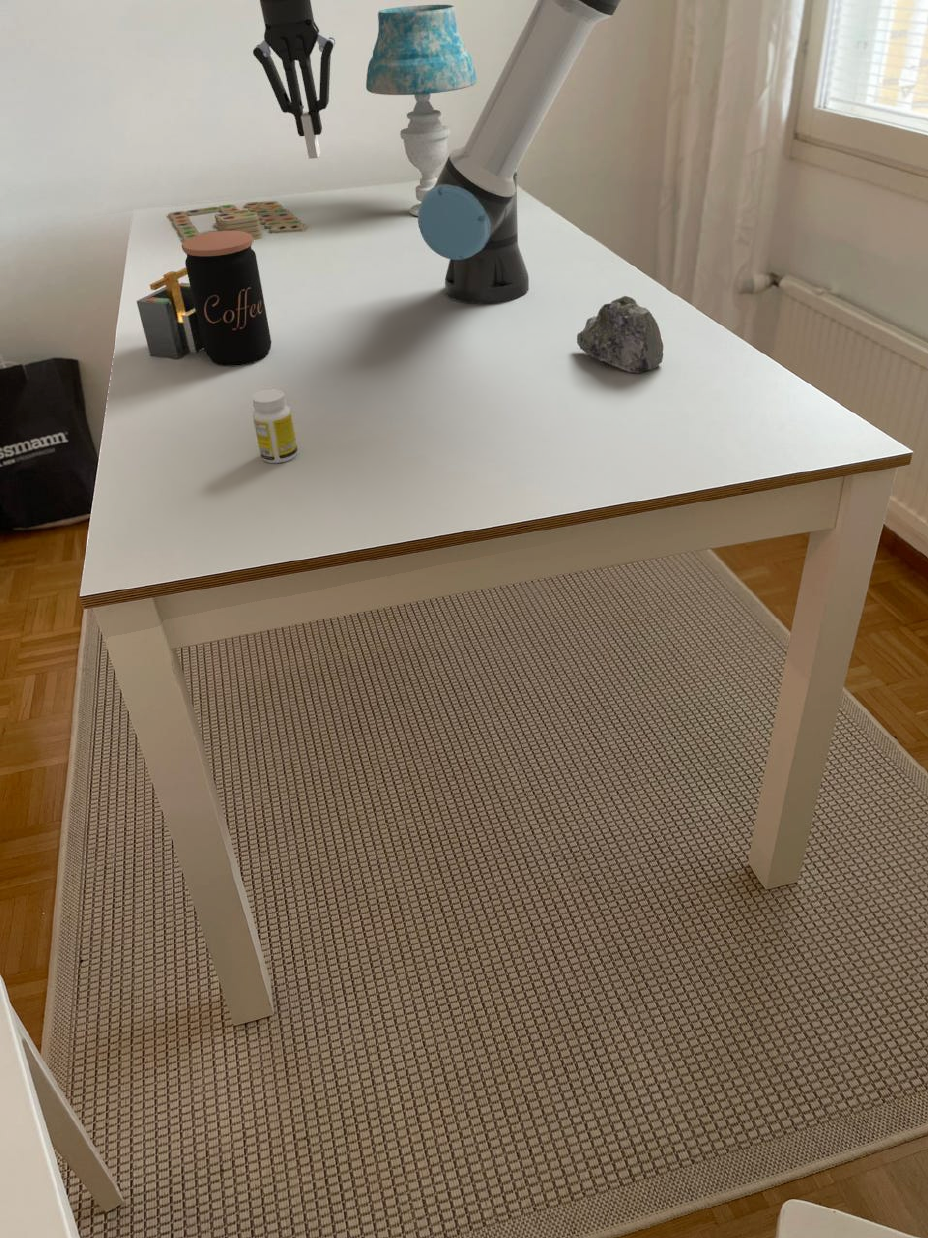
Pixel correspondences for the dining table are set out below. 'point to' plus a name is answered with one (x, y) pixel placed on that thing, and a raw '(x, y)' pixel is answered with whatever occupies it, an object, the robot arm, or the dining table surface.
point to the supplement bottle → (274, 426)
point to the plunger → (181, 311)
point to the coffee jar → (228, 297)
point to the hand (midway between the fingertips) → (314, 155)
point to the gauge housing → (164, 322)
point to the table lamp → (420, 77)
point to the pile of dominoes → (241, 219)
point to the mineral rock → (623, 336)
